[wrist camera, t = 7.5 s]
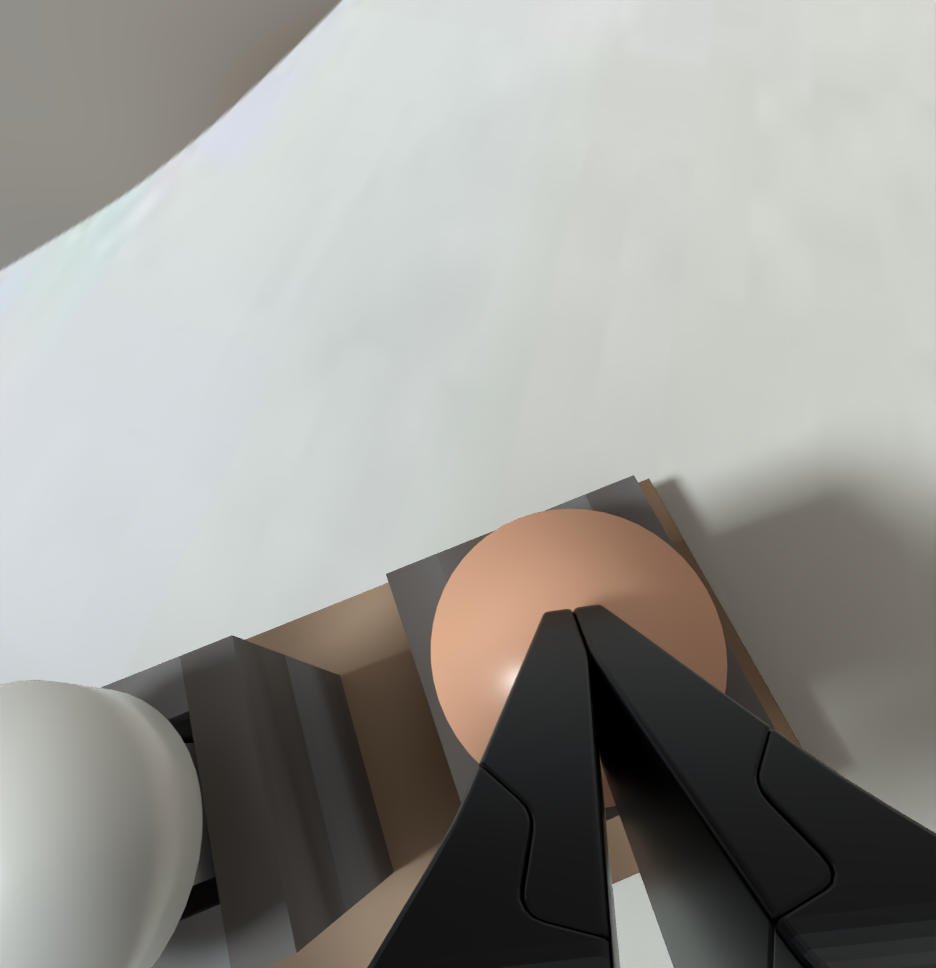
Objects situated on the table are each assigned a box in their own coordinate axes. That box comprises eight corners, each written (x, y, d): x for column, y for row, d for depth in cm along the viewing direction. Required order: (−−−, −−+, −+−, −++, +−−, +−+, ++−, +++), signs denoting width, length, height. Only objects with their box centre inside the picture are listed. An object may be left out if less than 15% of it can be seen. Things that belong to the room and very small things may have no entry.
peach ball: (615, 538, 13) (639, 470, 10) (718, 739, 12) (789, 735, 8) (430, 613, 13) (394, 567, 10) (507, 829, 11) (493, 862, 8)
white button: (244, 664, 12) (130, 632, 9) (297, 920, 10) (178, 1005, 7) (27, 751, 12) (-176, 752, 8) (40, 1029, 10) (-211, 1169, 7)
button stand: (643, 491, 19) (700, 348, 12) (809, 788, 15) (1021, 819, 9) (-160, 812, 18) (-589, 851, 11) (-188, 1219, 14) (-859, 1653, 7)
